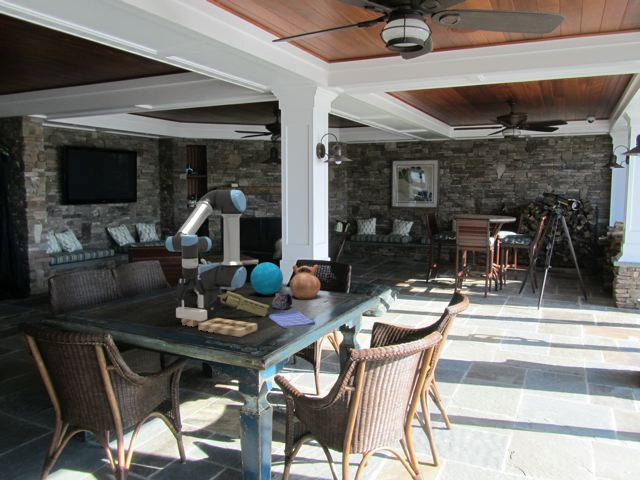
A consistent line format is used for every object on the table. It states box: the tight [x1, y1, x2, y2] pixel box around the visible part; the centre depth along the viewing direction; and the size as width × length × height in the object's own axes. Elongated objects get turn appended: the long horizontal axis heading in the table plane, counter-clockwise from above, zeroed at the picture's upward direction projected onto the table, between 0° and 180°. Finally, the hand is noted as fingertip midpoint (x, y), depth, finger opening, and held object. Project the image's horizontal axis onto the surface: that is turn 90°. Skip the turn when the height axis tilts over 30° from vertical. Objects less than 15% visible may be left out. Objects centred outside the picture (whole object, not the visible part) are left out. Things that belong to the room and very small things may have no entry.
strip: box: [175, 306, 208, 326], centre depth 256 cm, size 16×4×7 cm, turn 61°
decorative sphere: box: [250, 261, 284, 296], centre depth 327 cm, size 20×20×20 cm
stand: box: [181, 319, 198, 327], centre depth 256 cm, size 7×6×3 cm
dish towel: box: [268, 310, 316, 329], centre depth 263 cm, size 17×24×3 cm
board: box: [197, 317, 258, 338], centre depth 246 cm, size 24×13×3 cm, turn 61°
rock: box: [272, 292, 293, 310], centre depth 292 cm, size 11×10×10 cm
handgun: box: [205, 290, 270, 320], centre depth 269 cm, size 4×30×16 cm, turn 103°
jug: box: [289, 264, 321, 300], centre depth 319 cm, size 18×18×20 cm
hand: (191, 310), depth 256 cm, fingers open, 13 cm apart
